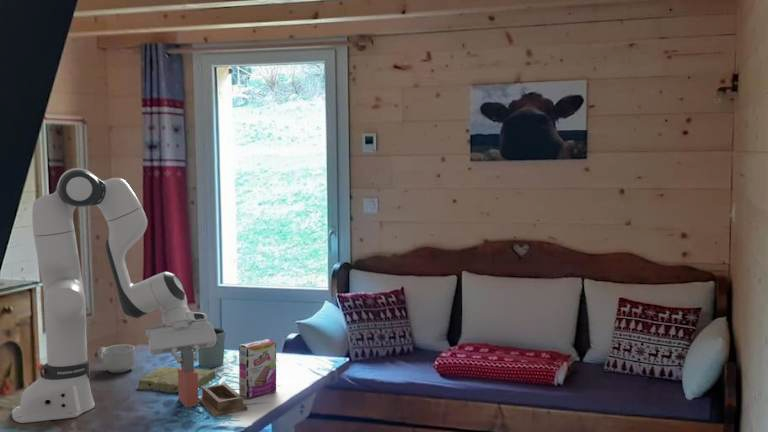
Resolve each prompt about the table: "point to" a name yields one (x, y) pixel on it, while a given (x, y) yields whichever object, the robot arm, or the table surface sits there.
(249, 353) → the candy bar box
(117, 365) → the teacup
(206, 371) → the decorative tile
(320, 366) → the table surface
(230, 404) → the brown wooden tray
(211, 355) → the grey cup
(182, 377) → the pink and grey block
